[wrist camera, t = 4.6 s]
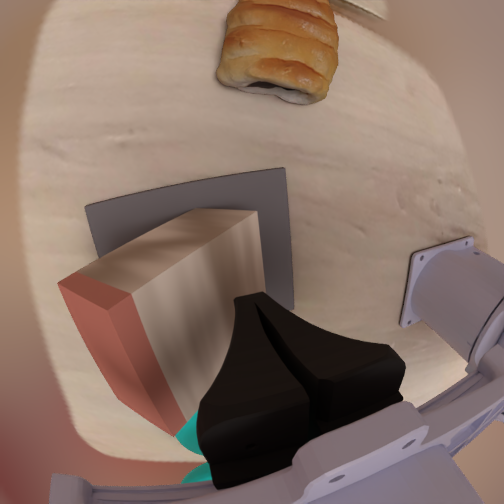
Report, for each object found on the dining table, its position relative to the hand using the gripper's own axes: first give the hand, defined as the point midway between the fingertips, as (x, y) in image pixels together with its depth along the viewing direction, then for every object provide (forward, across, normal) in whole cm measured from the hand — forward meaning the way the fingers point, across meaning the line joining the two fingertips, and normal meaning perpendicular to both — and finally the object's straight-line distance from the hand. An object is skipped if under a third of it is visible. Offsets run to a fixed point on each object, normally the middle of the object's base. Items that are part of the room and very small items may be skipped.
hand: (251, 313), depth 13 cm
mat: (+6, +2, 0) cm, 7 cm away
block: (+5, 0, 0) cm, 5 cm away
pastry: (+7, -4, -13) cm, 15 cm away
